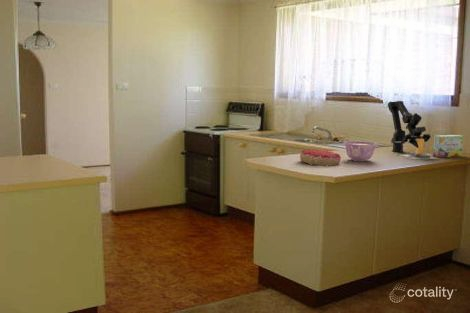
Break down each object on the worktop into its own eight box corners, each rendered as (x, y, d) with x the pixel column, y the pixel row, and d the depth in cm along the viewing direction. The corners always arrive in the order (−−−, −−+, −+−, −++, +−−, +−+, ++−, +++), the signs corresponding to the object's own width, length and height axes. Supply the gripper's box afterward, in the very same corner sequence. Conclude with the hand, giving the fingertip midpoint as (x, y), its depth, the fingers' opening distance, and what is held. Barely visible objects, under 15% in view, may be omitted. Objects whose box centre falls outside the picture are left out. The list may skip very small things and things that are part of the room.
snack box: (438, 157, 358) (440, 136, 356) (432, 156, 364) (434, 135, 361) (461, 156, 366) (463, 135, 364) (455, 155, 371) (457, 134, 369)
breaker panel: (400, 155, 364) (401, 150, 364) (422, 155, 368) (422, 150, 368) (414, 159, 347) (415, 154, 347) (437, 159, 351) (437, 154, 350)
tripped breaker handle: (415, 153, 357) (416, 138, 355) (420, 153, 357) (421, 138, 356) (417, 154, 354) (418, 139, 352) (423, 154, 355) (424, 139, 353)
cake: (292, 158, 334) (293, 146, 332) (325, 159, 343) (327, 147, 341) (311, 167, 311) (312, 154, 310) (346, 167, 320) (348, 155, 319)
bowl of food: (352, 163, 327) (353, 145, 325) (338, 158, 346) (339, 141, 344) (381, 162, 332) (382, 144, 330) (365, 157, 351) (366, 140, 349)
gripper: (406, 122, 354) (413, 140, 345) (430, 122, 358) (438, 140, 349) (399, 132, 363) (406, 150, 354) (422, 132, 367) (430, 150, 358)
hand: (420, 147), depth 354 cm, fingers closed on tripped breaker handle, 4 cm apart
